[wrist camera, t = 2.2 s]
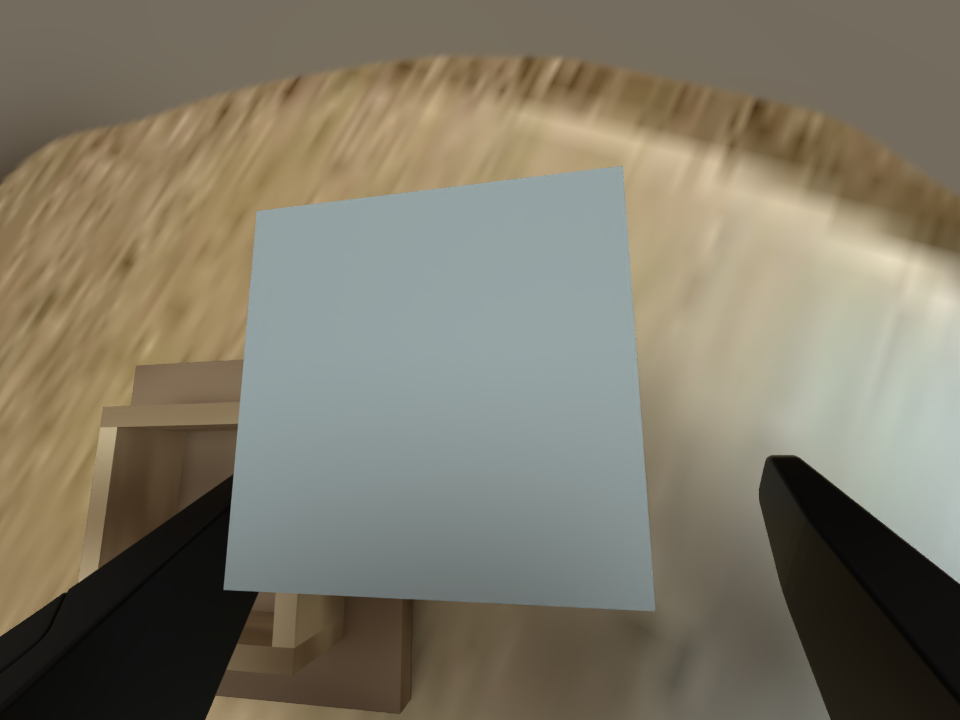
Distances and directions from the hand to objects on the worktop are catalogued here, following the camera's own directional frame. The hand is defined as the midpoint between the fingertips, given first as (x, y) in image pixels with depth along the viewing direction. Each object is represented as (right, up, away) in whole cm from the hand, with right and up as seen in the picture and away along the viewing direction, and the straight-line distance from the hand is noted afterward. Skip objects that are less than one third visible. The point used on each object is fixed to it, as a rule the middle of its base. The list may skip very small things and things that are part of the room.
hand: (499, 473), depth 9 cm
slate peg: (+2, -1, +9) cm, 9 cm away
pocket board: (-9, -4, +10) cm, 14 cm away
